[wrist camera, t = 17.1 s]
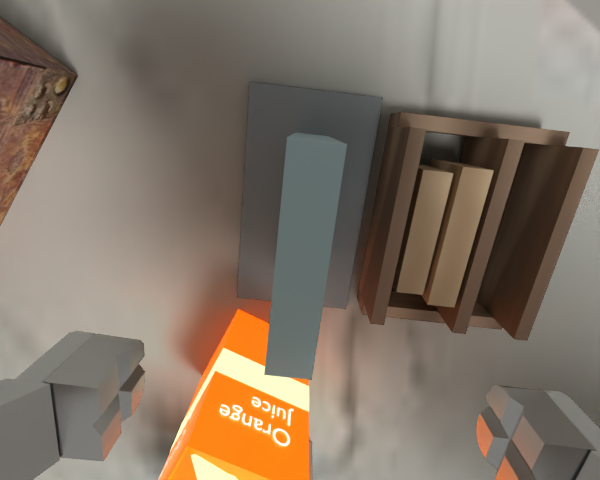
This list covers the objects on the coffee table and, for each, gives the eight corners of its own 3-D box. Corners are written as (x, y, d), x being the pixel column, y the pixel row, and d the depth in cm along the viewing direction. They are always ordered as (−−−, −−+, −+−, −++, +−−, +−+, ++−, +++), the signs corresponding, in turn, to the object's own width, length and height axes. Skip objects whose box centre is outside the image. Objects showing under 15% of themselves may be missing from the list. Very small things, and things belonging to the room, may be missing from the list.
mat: (381, 98, 26) (382, 97, 26) (345, 305, 32) (345, 309, 31) (251, 82, 26) (249, 81, 25) (238, 294, 32) (236, 297, 31)
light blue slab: (328, 136, 27) (347, 144, 14) (309, 276, 30) (311, 379, 18) (296, 132, 26) (287, 137, 14) (281, 273, 30) (264, 374, 18)
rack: (541, 131, 27) (605, 132, 21) (484, 311, 32) (523, 351, 26) (390, 113, 26) (414, 109, 21) (357, 297, 32) (368, 335, 26)
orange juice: (200, 375, 35) (72, 677, 16) (237, 307, 32) (137, 569, 13) (269, 405, 36) (227, 722, 17) (310, 342, 33) (315, 630, 14)
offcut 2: (455, 161, 28) (493, 170, 22) (427, 274, 31) (454, 307, 25) (431, 158, 28) (463, 166, 22) (405, 271, 31) (427, 304, 25)
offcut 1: (425, 164, 28) (453, 173, 23) (403, 266, 31) (422, 295, 25) (401, 161, 28) (423, 169, 23) (381, 263, 31) (396, 292, 25)
